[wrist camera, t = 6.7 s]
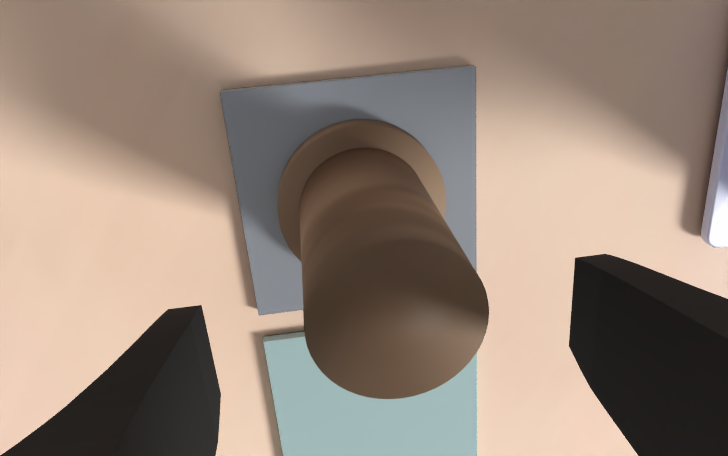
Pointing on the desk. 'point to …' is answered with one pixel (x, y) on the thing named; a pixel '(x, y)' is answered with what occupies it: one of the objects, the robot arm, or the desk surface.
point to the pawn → (379, 262)
